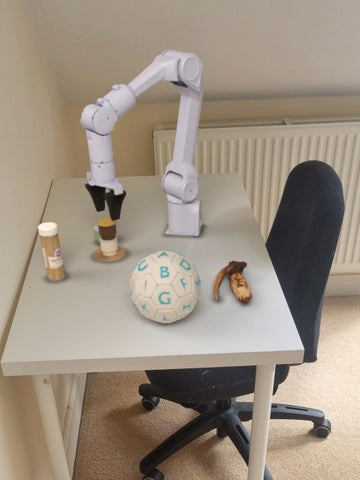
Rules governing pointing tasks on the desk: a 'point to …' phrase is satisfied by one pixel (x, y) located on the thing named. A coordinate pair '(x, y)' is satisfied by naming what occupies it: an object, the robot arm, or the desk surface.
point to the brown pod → (107, 228)
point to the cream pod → (109, 246)
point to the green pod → (97, 233)
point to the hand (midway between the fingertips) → (108, 215)
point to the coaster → (120, 253)
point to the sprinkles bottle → (51, 250)
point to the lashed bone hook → (234, 281)
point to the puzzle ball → (165, 287)
